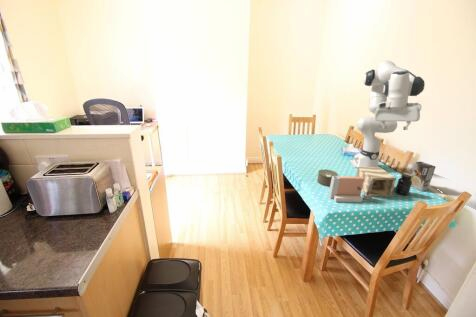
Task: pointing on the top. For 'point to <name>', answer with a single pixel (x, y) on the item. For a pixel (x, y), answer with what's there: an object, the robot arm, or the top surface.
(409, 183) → the supplement bottle
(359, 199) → the door stand
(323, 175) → the can
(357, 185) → the door
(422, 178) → the coffee box
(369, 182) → the cabinet
